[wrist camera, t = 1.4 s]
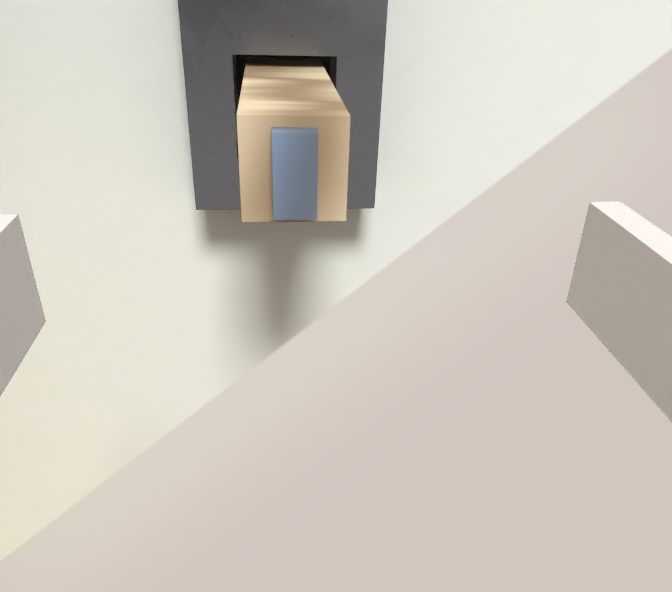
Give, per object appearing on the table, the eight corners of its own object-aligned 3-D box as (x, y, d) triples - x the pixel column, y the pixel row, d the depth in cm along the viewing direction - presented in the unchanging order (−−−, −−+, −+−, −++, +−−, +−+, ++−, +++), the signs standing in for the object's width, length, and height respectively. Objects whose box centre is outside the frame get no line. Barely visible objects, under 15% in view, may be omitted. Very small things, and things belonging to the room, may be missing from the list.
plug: (249, 130, 35) (241, 230, 22) (246, 57, 33) (235, 120, 20) (318, 130, 36) (348, 228, 23) (319, 58, 34) (353, 121, 21)
